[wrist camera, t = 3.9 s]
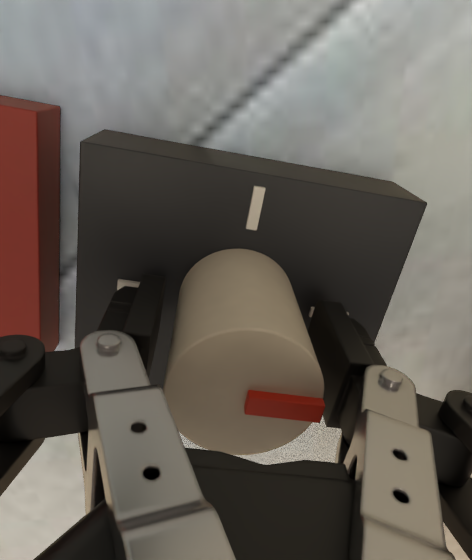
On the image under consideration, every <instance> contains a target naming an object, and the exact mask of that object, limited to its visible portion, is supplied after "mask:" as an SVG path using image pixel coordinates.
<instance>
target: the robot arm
mask: <svg viewBox="0 0 472 560" xmlns="http://www.w3.org/2000/svg"><path fill="white" fill-rule="evenodd" d="M165 282H166V277H163V276H157V275H150V274H143V276H142V279H141V281H140V284H139V287H138V288H137V287H130V286H124V287H122V288H121V289H119V290H117V291H116V292H114V295H113V297H112V299H111V301H110V303H109V305H108V307H107V310H106V312H105V314H104V316H103V318H102V320H101V322H100V325H99V327H98V329H97V331H96V332H93V333H90V334H88V335H87V336H85V337H84V338H83V339H82V341H81V343H80V347H78V348H75V349H71V350H65V351H53V352H45V346H44V344H43V343H42V341H40V340H39V339H37V338H35V337H32V336H28V335H7V336H3V337H0V496H1V495H2V494H3V492H4V491H5V490H6V489H7V487H8V486H9V485H10V484H11V482H12V481H13V480H14V478H15V477H16V476H17V475H18V473H19V472H20V471H21V470H22V468H23V467H24V466H25V465H26V463H27V462H28V461H29V460H30V458H31V457H32V456H33V455H34V453H35V452H36V451H37V450H38V448H39V447H40V446H41V445H42V443H43V442H44V440H45V438H47V437H54V436H61V435H67V434H74V433H78V439H79V447H80V455H81V463H82V470H83V478H84V488H85V511H86V515H85V516H84V517H83V518H82V519H81V520H79V521H78V522H77V523H76V524H75V525H73V526H72V527H71V528H70V529H69V530H68V531H66V532H65V533H64V534H63V535H62V536H61V537H59V538H58V539H57V540H56V541H55V542H54V543H52V544H51V545H50V546H49V547H48V548H47V549H45V550H44V551H43V552H42V553H41V554H40V555H38V556H37V557H36V558H35V559H34V560H456V559H455V557H454V556H453V554H452V553H451V552H449V551H448V549H447V547H446V542H445V535H444V527H443V522H444V523H445V525H446V526H447V528H448V529H449V530H450V532H451V533H452V535H453V536H454V537H455V539H456V540H457V542H458V543H459V544H460V546H461V547H462V549H463V550H464V551H465V553H466V554H467V556H468V557H469V558H470V560H472V479H471V477H470V475H471V474H472V393H469V392H465V391H460V390H453V391H450V392H448V394H447V395H446V397H445V399H444V401H443V402H440V401H437V400H434V399H431V398H428V397H425V396H422V395H420V394H417V393H416V388H415V385H414V383H413V382H412V381H411V380H410V378H408V377H407V376H406V375H405V374H403V373H402V372H400V371H398V370H396V369H394V368H391V367H388V366H387V365H386V363H385V362H384V360H383V358H382V357H381V355H380V353H379V351H378V350H377V348H376V347H375V346H374V345H375V344H374V343H373V341H372V339H370V336H369V334H368V332H367V331H366V329H365V327H363V326H362V325H361V324H360V323H359V322H358V321H356V320H355V319H353V318H349V316H348V314H347V312H346V311H345V309H344V307H343V305H342V303H340V302H333V301H326V300H318V301H317V303H316V305H315V308H314V311H313V315H312V318H311V321H310V325H309V328H308V331H307V332H308V335H309V337H310V340H311V343H312V346H313V349H314V352H315V355H316V357H317V360H318V363H319V366H320V369H321V372H322V376H323V380H324V396H323V400H324V403H325V409H324V412H323V417H324V420H325V424H326V427H334V428H341V430H342V433H341V436H340V438H339V441H338V444H337V450H336V457H335V463H330V462H320V461H310V460H302V461H294V462H287V463H279V464H271V465H262V464H259V463H255V462H252V461H249V460H246V459H243V458H240V457H236V456H233V455H230V454H227V453H224V452H221V451H211V450H201V449H191V448H185V447H184V445H183V442H182V439H181V437H180V434H179V432H178V429H177V426H176V424H175V421H174V418H173V416H172V413H171V411H170V408H169V405H168V403H167V400H166V398H165V395H164V392H163V390H162V388H161V386H160V385H159V384H156V385H150V382H149V374H150V370H151V366H152V361H153V357H154V352H155V348H156V343H157V339H158V334H159V328H160V322H161V314H162V306H163V298H164V290H165Z"/></svg>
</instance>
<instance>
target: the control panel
mask: <svg viewBox="0 0 472 560" xmlns="http://www.w3.org/2000/svg"><path fill="white" fill-rule="evenodd" d="M426 205H427V203H426V202H425V201H423V200H421V199H420V198H418V197H417V196H415V195H413V194H412V193H410V192H409V191H407V190H405V189H404V188H402V187H400V186H399V185H397V184H396V183H394V182H391V181H385V180H380V179H374V178H369V177H363V176H358V175H352V174H347V173H341V172H336V171H330V170H325V169H319V168H314V167H308V166H303V165H297V164H292V163H286V162H281V161H275V160H270V159H264V158H259V157H253V156H248V155H242V154H237V153H231V152H226V151H220V150H215V149H209V148H204V147H198V146H193V145H188V144H182V143H177V142H171V141H166V140H160V139H155V138H149V137H144V136H138V135H133V134H127V133H122V132H116V131H111V130H103V131H101V132H99V133H97V134H95V135H93V136H91V137H89V138H87V139H85V140H83V141H81V142H80V171H79V209H78V247H77V285H76V323H75V348H78V347H80V343H81V341H82V339H83V338H84V337H85V336H87V335H88V334H90V333H93V332H96V331H97V329H98V327H99V325H100V322H101V320H102V318H103V316H104V314H105V312H106V310H107V307H108V305H109V303H110V301H111V299H112V297H113V295H114V292H116V291H117V290H119V289H121V288H122V287H124V286H130V287H137V288H138V287H139V284H140V281H141V279H142V276H143V274H150V275H157V276H163V277H166V282H165V290H164V298H163V306H162V314H161V322H160V328H159V334H158V339H157V343H156V348H155V352H154V357H153V361H152V366H151V370H150V374H149V382H150V385H156V384H159V385H160V386H161V388H162V390H163V386H164V380H165V374H166V368H167V362H168V356H169V350H170V345H171V339H172V333H173V327H174V321H175V315H176V309H177V304H178V298H179V292H180V288H181V285H182V282H183V280H184V278H185V276H186V274H187V273H188V272H189V271H190V269H191V268H192V267H193V266H194V265H195V264H196V263H197V262H199V261H200V260H201V259H203V258H205V257H206V256H208V255H210V254H212V253H215V252H218V251H222V250H226V249H248V250H253V251H256V252H259V253H262V254H264V255H266V256H268V257H269V258H271V259H272V260H274V261H275V262H276V263H277V264H278V265H279V266H280V267H281V268H282V269H283V270H284V272H285V273H286V275H287V277H288V279H289V281H290V283H291V286H292V289H293V292H294V295H295V297H296V300H297V303H298V306H299V309H300V312H301V315H302V317H303V320H304V323H305V326H306V329H307V331H308V328H309V325H310V321H311V318H312V315H313V311H314V308H315V305H316V303H317V301H318V300H326V301H333V302H340V303H342V305H343V307H344V309H345V311H346V312H347V314H348V316H349V318H353V319H355V320H356V321H358V322H359V323H360V324H361V325H362V326H363V327H365V329H366V331H367V332H368V334H369V336H370V339H372V341H373V343H374V342H375V339H376V336H377V334H378V331H379V329H380V326H381V323H382V321H383V318H384V315H385V313H386V310H387V308H388V305H389V302H390V300H391V297H392V294H393V292H394V289H395V287H396V284H397V281H398V279H399V276H400V274H401V271H402V268H403V266H404V263H405V260H406V258H407V255H408V253H409V250H410V247H411V245H412V242H413V240H414V237H415V234H416V232H417V229H418V226H419V224H420V221H421V219H422V216H423V213H424V211H425V208H426Z"/></svg>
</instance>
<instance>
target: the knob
mask: <svg viewBox="0 0 472 560" xmlns="http://www.w3.org/2000/svg"><path fill="white" fill-rule="evenodd" d="M163 392H164V395H165V398H166V400H167V403H168V405H169V408H170V411H171V413H172V416H173V418H174V421H175V424H176V426H177V429H178V431H179V432H180V433H181V434H182V435H184V436H185V437H186V438H187V439H189V440H190V441H192V442H193V443H195V444H197V445H199V446H201V447H203V448H205V449H208V450H211V451H221V452H224V453H227V454H230V455H250V454H258V453H262V452H267V451H270V450H273V449H276V448H279V447H281V446H283V445H285V444H287V443H289V442H290V441H292V440H294V439H295V438H296V437H298V436H299V435H300V434H302V433H303V432H304V431H305V430H306V429H307V428H308V427H309V426H310V424H311V423H312V422H317V423H320V420H321V418H322V415H323V412H324V409H325V403H324V400H323V396H324V380H323V376H322V372H321V369H320V366H319V363H318V360H317V357H316V355H315V352H314V349H313V346H312V343H311V340H310V337H309V335H308V332H307V329H306V326H305V323H304V320H303V317H302V315H301V312H300V309H299V306H298V303H297V300H296V297H295V295H294V292H293V289H292V286H291V283H290V281H289V279H288V277H287V275H286V273H285V272H284V270H283V269H282V268H281V267H280V266H279V265H278V264H277V263H276V262H275V261H274V260H272V259H271V258H269V257H268V256H266V255H264V254H262V253H259V252H256V251H253V250H248V249H226V250H222V251H218V252H215V253H212V254H210V255H208V256H206V257H205V258H203V259H201V260H200V261H199V262H197V263H196V264H195V265H194V266H193V267H192V268H191V269H190V271H189V272H188V273H187V274H186V276H185V278H184V280H183V282H182V285H181V288H180V292H179V298H178V304H177V309H176V315H175V321H174V327H173V333H172V339H171V345H170V350H169V356H168V362H167V368H166V374H165V380H164V386H163Z"/></svg>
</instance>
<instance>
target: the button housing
mask: <svg viewBox="0 0 472 560" xmlns="http://www.w3.org/2000/svg"><path fill="white" fill-rule="evenodd" d="M59 208H60V107H59V106H56V105H50V104H45V103H40V102H34V101H29V100H23V99H18V98H13V97H7V96H2V95H0V337H3V336H7V335H28V336H32V337H35V338H37V339H39V340H40V341H42V343H43V344H44V346H45V352H53V351H54V350H55V348H56V347H57V345H58V343H59Z"/></svg>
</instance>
